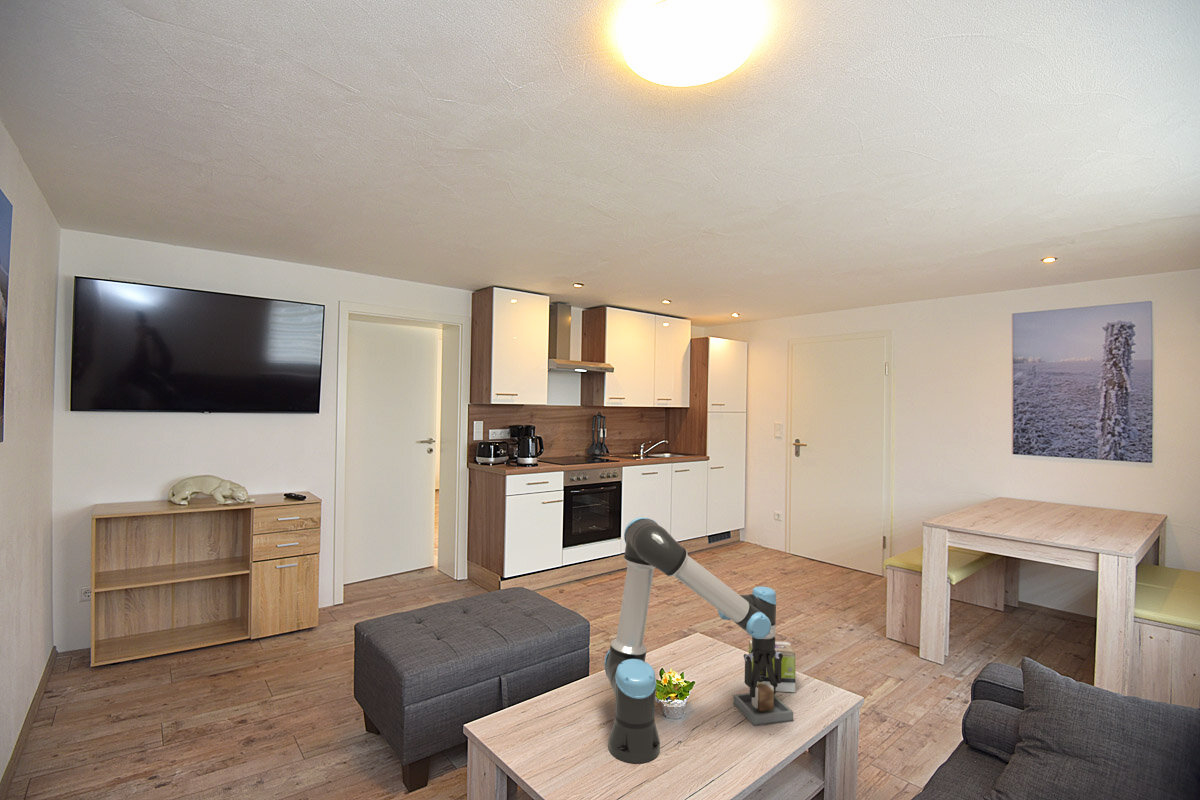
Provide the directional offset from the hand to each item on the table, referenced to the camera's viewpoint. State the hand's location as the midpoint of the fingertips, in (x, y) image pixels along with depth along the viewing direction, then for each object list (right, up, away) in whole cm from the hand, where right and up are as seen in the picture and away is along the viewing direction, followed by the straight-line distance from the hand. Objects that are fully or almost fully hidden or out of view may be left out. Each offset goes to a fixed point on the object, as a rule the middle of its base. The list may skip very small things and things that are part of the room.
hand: (762, 705), depth 186 cm
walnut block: (0, 0, 0) cm, 0 cm away
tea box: (+9, -3, +19) cm, 21 cm away
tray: (0, -2, 0) cm, 2 cm away
